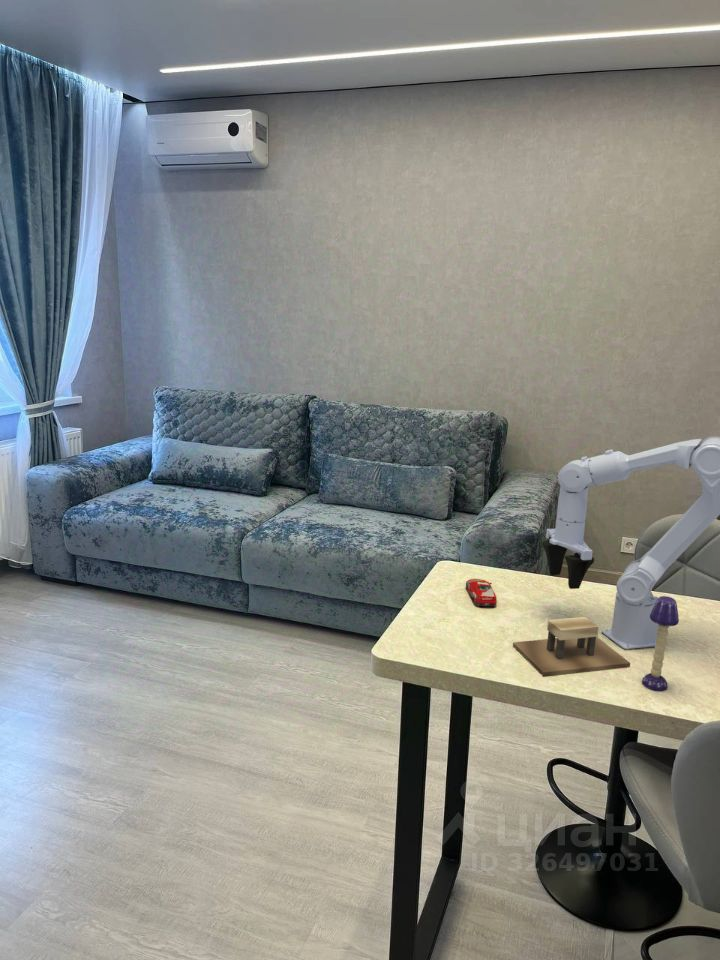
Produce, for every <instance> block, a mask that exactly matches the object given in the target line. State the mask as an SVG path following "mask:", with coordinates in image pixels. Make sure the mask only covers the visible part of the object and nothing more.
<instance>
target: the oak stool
mask: <svg viewBox="0 0 720 960" xmlns="http://www.w3.org/2000/svg"><path fill="white" fill-rule="evenodd" d="M547 631H548V633H547V639H548V641H547V650H548V651H549V652H550V651H554V646H555V638H557V647H556V656H555V657H556V658H557V659H563V654H564V645H565V640H568V639H578V640H577V647H579V648H584V645H585V638H588V642H587V650H586V654H587V655H588V656H594V649H595V641H596V637H598V634H599V625H597V624H596V623H594V622H593V621H592V620H590V619H589V618H588V617H586V616H580V617H570V618H567V617H566V618H557V619H549V620H548V621H547Z"/></svg>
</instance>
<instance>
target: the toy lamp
mask: <svg viewBox="0 0 720 960" xmlns="http://www.w3.org/2000/svg"><path fill="white" fill-rule="evenodd" d="M650 619H651V620H652V621H653V622H655V623H657V624H658V627H659V629H658V630H657V635H658V636H657V638H656V645H655V646H654V652H653V656H652V657H653V660H652V662H651V665H652V667H651V669H650V673H647V674H645V675H644V676H643V677H642V679H641V685H643V686H644V687H645V688H646V689H648V690H651V691H655V692H664V691H666V690H668V683H667V682H668V681H667V680H666V678H665V677H664V676H663V675H662V673H663V672H662V668H663V666H664V662H663V661H664V659H665V652H666V645H667V642H668V639H667V637H668V635H669V631H668V629H669V628H670V627H675V626H677V625H679V622H680V620H679V619H680V618H679V610H678V603H677V601H676V599H674V598H673V597H671V596H668V595H667V596H665V595H664V596H663V595H661V596H659V597H658V599H657V601H656V603H655V605H654V607H653V609H652V611H651V614H650Z"/></svg>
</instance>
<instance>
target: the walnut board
mask: <svg viewBox="0 0 720 960" xmlns="http://www.w3.org/2000/svg"><path fill="white" fill-rule="evenodd" d="M577 640H578V639H568V640H565V645H564V654H563V659H557V658H556V657H555V656H556V647H557V638H556V637H555V646H554V651H550V652H549V651H548V650H547V641H548V638H547V639H546V638H544V639H537V640H536V639H535V640H525V641H524V640H523V641H513V643H512V647H513V648H514V649H515V650H516V651H517V652H518V653H519V654H520V655H521V656H522V657H523V658H524V659H525V660H526V661H527V662H528V663H529V664H530V665H531V666H532V667H533V668H534V669H535V670H536V671H537V672H538V673H539V674H540V675H541V676H542V677H551V676H557V675H561V676H562V675H567V674H568V675H569V674H570V675H571V674H579V673H589V672H594V671H605V670H612V669H613V670H614V669H621V668H622V669H624V668H630V667H631V662H630V661H629V660H627V659H626V658H625V657H624V656H622V655H621V654H620V653H618V652H617V651H615V649H613V648H612V647H611V646H609V645H608V644H607V643H605V642H604V641H603V640H602V639H601V638H599V637H598V636H597V637H596V641H595V649H594V656H588V655H587V654H586V650H587V642H588V638H585V645H584V648H579V647H577Z"/></svg>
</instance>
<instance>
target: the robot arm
mask: <svg viewBox="0 0 720 960" xmlns="http://www.w3.org/2000/svg"><path fill="white" fill-rule="evenodd" d="M702 439H703V438H697V439H696V438H695V439H690V440H683V441H678V442H674V443H671V444H667V445H663V446H659V447H655V448H652V449H648V450H645V451H640V452H638V453H637V452H636V453H633V454H630V455H629V454H626V453H624V452H622V451H619V450H617V451H614V450H613V448H611V449H608V450H605V452H604V453H603V454H600V455H595V456H592V457H588V456H587V455H586V456H582V457H581V459H574V460H571V461H570V462H568V463H567V464H565V465H563V467H561V468H560V470H559V472H558V473H557V474H558V475H557V481H558V484H559V486H560V488H559V495H558V501H557V510H556V520H555V528H547V529H546V534H545V538H546V539H547V540H543V541H542V543H541V545H542V547H543V549H544V552H545V555H546V559H547V564H548V572H549V575H550V576H560V575H561V573H562V572H561V571H562V569H563V563H564V559H565V561H566V566H567V573H568V576H567V577H568V578H567V585H568V588H569V589H570V590H575V589H576V590H577V589H580V587H581V585H582V582H583V580H584V578H585V575H586V573H587V572H588V570H589V569H590V567H591V566H592V565H593V564H594V563H595V557H593V552H594V551H593V550H592V549H591V548H590V547H589V546H588V544H587V543H586V541H585V540H584V538H585V530H586V529H585V527H586V519H587V509H588V503H589V502H588V500H589V498H588V497H589V496H588V495H589V486H591V487H597V486H602V485H606V484H609V483H610V484H611V483H615V482H621V481H625V480H627V479H628V477H629V476H630V475H631V473H632V472H635V471H636V472H637V471H641V470H647V469H653V468H658V467H663V466H664V467H665V466H668V465H669V466H670V465H675V466H678V467H681V468H682V469H683V468H684V469H686V470H690V468H691V466H692V467H693V470H694V472H695V473H696V474H697V476H698V477H699V479H700V484H701V490H702V494H701V495H700V496H699V497H698V498H697V499H696V500H695V502H694V503H692V505H691V506H690V507H689V508H688V509H687V510H686V511H685V512H684V513H683V514H682V515H681V517H679V518H678V519H677V521H676V522H675V523H674V524H673V525H672V526H671V527H670V528H669V529H668V530H667V531H666V532H665V533H664V534H663V535H662V537H661V538H659V540H658V541H657V542H656V543H655V544H654V545H653V546H652V547H651V548H650V549H649V550H648V551H647V552H646V553H645V554H644V555H643V556H642V557H641V558H639V559H637V560H633V561H632V562H630V563H628V564H627V565H626V567H625V569H624V571H623V573H622V575H621V576H620V577H619V578H618V580H617V582H616V593H615V601H614V609H613V616H612V624H611V628H607V629H602V630H601V633H602V634H604V636H606V637H608V639H610V640H611V641H613V642H614V643H616V644H617V645H618V646H619V647H620V648H622V649H623V650H632V649H641V648H652V647H655V645H656V638H657V636H658V635H657V630H658V629H659V627H658V624H657V623H655V622H653V621H652V620H651V619H650V614H651V611H652V609H653V607H654V605H655V603H656V601H657V599H658V598H659V597H657V596H654V594H653V592H652V590H653V588H654V586H655V585H656V584H657V583H658V581H659V580H660V579H661V577H662V576H663V575H664V573H665V572H666V570H668V568H669V567H670V566H672V565H673V564H674V562H676V561H677V559H679V557H681V556H682V554H683V553H684V552H685V551H686V550H687V549H688V548H689V547H690V546H691V545H692V544H693V543H694V541H696V540H697V539H698V538H699V536H700V535H702V534H703V532H705V531H706V530H707V528H708V527H709V526H710V525H711V524H712V523H713V522H714V521H716V519H717V518H718V517H719V516H720V436H709V437H707V438H705V439H703V440H702ZM567 550H569V551H570V552H572V553H574V554H572V555H570V554H569V555H568V554H567V555H566V553H567Z"/></svg>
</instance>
